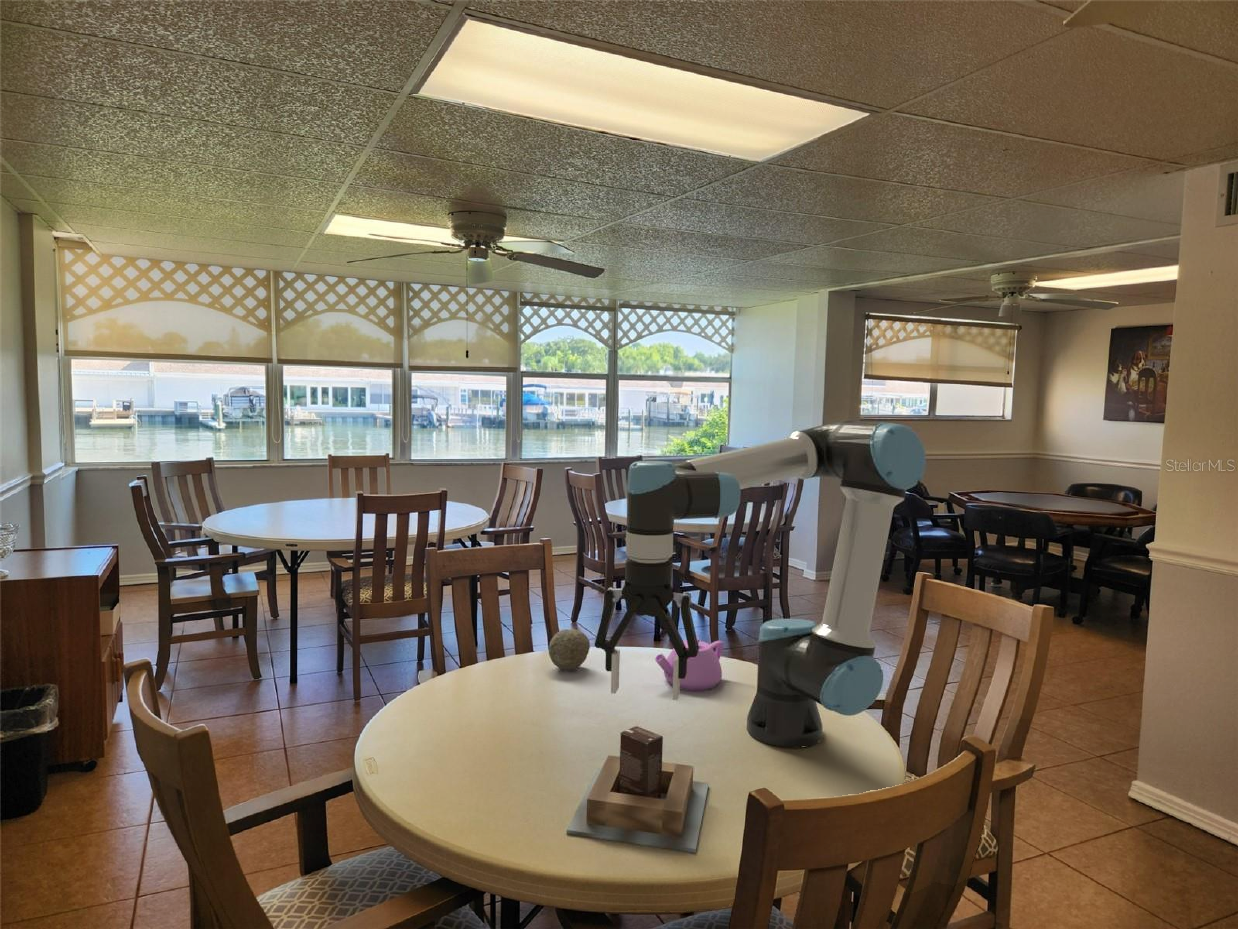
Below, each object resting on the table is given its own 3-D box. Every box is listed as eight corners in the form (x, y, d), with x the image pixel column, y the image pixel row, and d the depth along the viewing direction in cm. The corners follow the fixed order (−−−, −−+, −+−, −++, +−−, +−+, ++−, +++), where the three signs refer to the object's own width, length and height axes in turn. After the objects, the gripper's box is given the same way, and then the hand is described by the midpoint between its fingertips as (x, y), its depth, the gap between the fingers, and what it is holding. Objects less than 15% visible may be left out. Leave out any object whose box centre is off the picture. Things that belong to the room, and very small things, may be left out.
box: (662, 806, 124) (664, 735, 123) (644, 817, 121) (646, 744, 120) (634, 792, 128) (636, 724, 127) (616, 802, 125) (618, 732, 124)
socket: (708, 786, 132) (709, 761, 132) (695, 853, 112) (696, 823, 112) (597, 771, 136) (598, 747, 136) (566, 833, 117) (567, 805, 116)
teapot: (639, 680, 181) (640, 637, 180) (704, 666, 192) (705, 625, 191) (673, 700, 169) (675, 654, 168) (740, 684, 180) (742, 640, 179)
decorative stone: (554, 678, 181) (555, 637, 180) (544, 666, 189) (545, 627, 188) (594, 673, 185) (595, 633, 184) (582, 661, 193) (583, 623, 192)
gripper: (720, 557, 122) (715, 692, 124) (588, 548, 127) (585, 678, 129) (716, 567, 115) (711, 710, 117) (576, 557, 119) (573, 695, 121)
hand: (645, 693), depth 123 cm, fingers open, 9 cm apart
